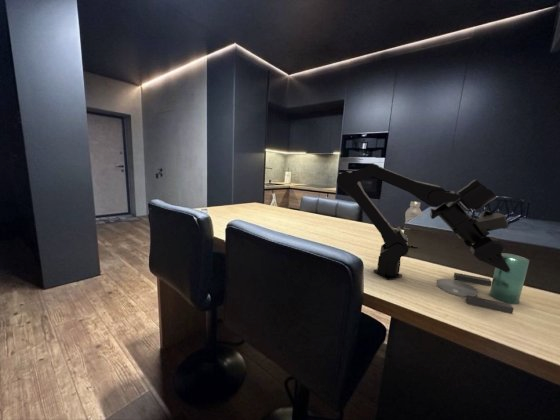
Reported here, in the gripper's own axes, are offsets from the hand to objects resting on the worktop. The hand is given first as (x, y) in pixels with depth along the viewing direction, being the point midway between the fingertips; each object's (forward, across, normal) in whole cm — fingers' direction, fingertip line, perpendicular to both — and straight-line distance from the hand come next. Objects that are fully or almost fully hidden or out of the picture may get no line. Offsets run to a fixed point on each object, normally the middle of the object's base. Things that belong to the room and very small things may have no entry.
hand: (501, 264), depth 65 cm
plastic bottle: (-7, +36, +21) cm, 42 cm away
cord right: (+4, -8, +9) cm, 13 cm away
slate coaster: (0, 0, +13) cm, 13 cm away
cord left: (+4, +8, +9) cm, 13 cm away
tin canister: (+8, 0, +5) cm, 10 cm away
